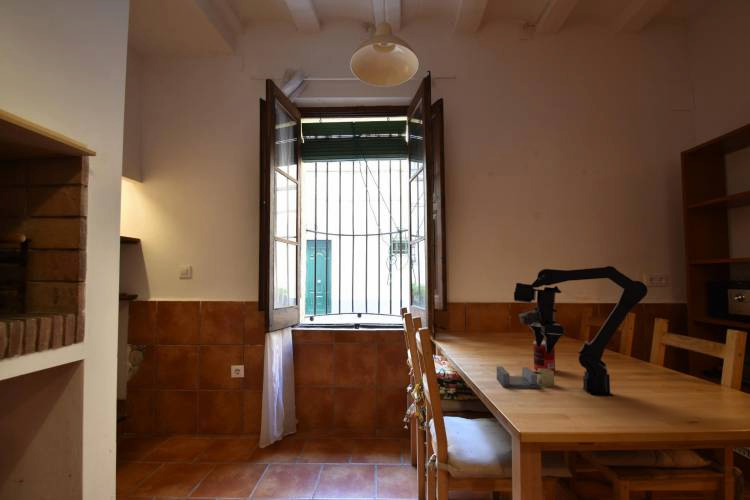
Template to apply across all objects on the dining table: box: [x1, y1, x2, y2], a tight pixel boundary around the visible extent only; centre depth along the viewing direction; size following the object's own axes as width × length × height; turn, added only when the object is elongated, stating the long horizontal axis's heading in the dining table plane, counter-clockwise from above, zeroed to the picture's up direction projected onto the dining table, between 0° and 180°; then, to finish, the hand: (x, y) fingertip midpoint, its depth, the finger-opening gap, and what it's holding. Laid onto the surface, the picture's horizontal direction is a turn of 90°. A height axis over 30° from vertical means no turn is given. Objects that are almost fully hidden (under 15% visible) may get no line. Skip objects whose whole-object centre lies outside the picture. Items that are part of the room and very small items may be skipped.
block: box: [537, 369, 555, 388], centre depth 126 cm, size 4×4×5 cm
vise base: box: [496, 365, 541, 390], centre depth 127 cm, size 12×10×5 cm
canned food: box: [532, 340, 556, 373], centre depth 145 cm, size 8×8×11 cm
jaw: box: [521, 366, 538, 384], centre depth 126 cm, size 5×10×3 cm, turn 174°
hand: (543, 349), depth 126 cm, fingers open, 9 cm apart
